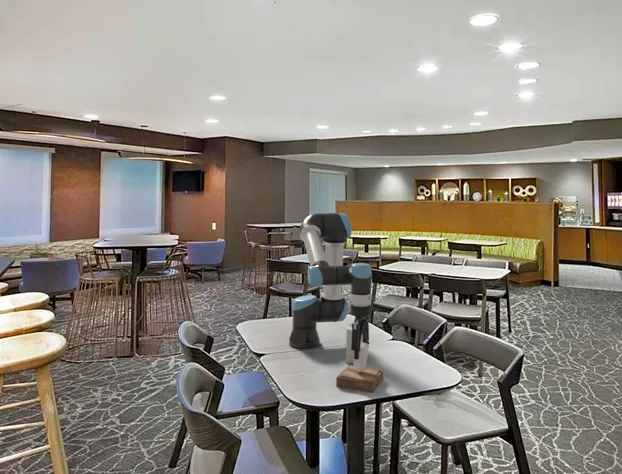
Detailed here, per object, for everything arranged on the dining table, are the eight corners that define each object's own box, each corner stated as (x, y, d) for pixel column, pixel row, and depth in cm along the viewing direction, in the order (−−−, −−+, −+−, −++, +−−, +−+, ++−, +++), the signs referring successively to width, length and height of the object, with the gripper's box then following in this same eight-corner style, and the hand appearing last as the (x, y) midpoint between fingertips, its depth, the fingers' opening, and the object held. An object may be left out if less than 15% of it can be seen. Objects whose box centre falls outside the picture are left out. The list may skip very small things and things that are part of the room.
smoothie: (364, 374, 163) (364, 337, 161) (349, 370, 166) (348, 334, 164) (371, 367, 168) (371, 332, 166) (356, 364, 171) (356, 330, 170)
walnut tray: (349, 373, 176) (349, 363, 176) (382, 379, 170) (383, 369, 170) (336, 386, 163) (336, 376, 163) (372, 393, 157) (372, 382, 157)
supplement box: (366, 364, 186) (367, 330, 185) (345, 363, 188) (346, 329, 187) (368, 357, 195) (368, 324, 194) (348, 356, 197) (348, 323, 196)
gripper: (362, 311, 154) (361, 374, 156) (377, 300, 172) (377, 357, 174) (342, 309, 157) (341, 371, 159) (359, 298, 175) (359, 354, 177)
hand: (360, 363), depth 166 cm, fingers open, 7 cm apart
